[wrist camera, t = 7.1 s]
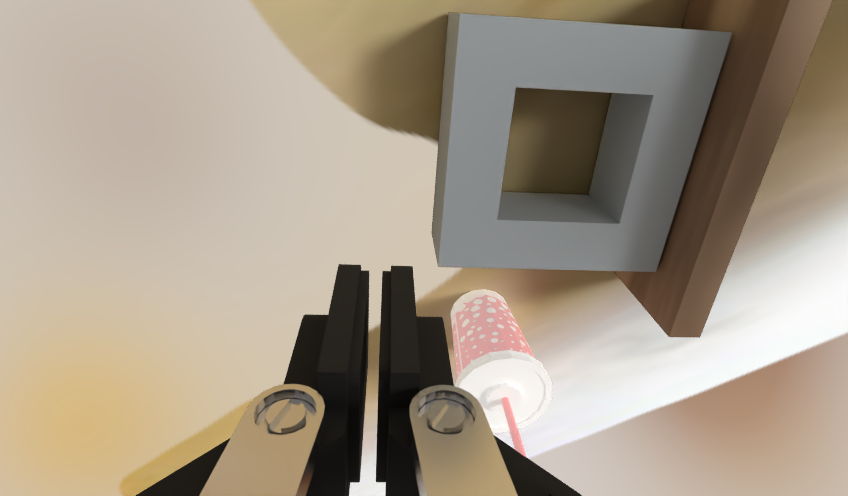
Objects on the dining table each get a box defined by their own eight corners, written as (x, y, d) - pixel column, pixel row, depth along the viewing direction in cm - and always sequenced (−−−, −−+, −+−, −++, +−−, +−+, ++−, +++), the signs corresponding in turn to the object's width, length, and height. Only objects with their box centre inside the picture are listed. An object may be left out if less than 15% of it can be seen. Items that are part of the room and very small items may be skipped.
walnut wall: (730, -26, 28) (847, -37, 21) (639, 273, 37) (699, 337, 30) (697, -29, 28) (804, -41, 21) (614, 272, 37) (669, 337, 30)
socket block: (679, 28, 29) (732, 32, 24) (622, 238, 35) (655, 271, 31) (448, 12, 28) (459, 13, 23) (431, 232, 34) (438, 266, 29)
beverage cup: (492, 355, 40) (540, 516, 27) (426, 329, 38) (445, 488, 25) (533, 298, 37) (606, 445, 25) (465, 268, 36) (506, 409, 23)
